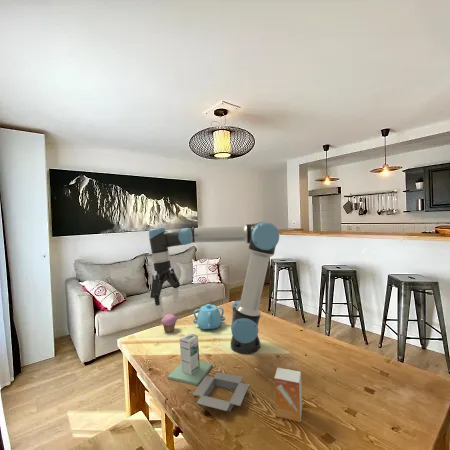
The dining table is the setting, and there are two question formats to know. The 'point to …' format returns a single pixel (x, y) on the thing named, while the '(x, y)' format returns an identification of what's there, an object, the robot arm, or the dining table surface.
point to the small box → (288, 394)
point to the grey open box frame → (224, 382)
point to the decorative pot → (208, 317)
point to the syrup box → (189, 353)
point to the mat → (191, 379)
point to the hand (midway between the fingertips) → (168, 306)
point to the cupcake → (169, 322)
